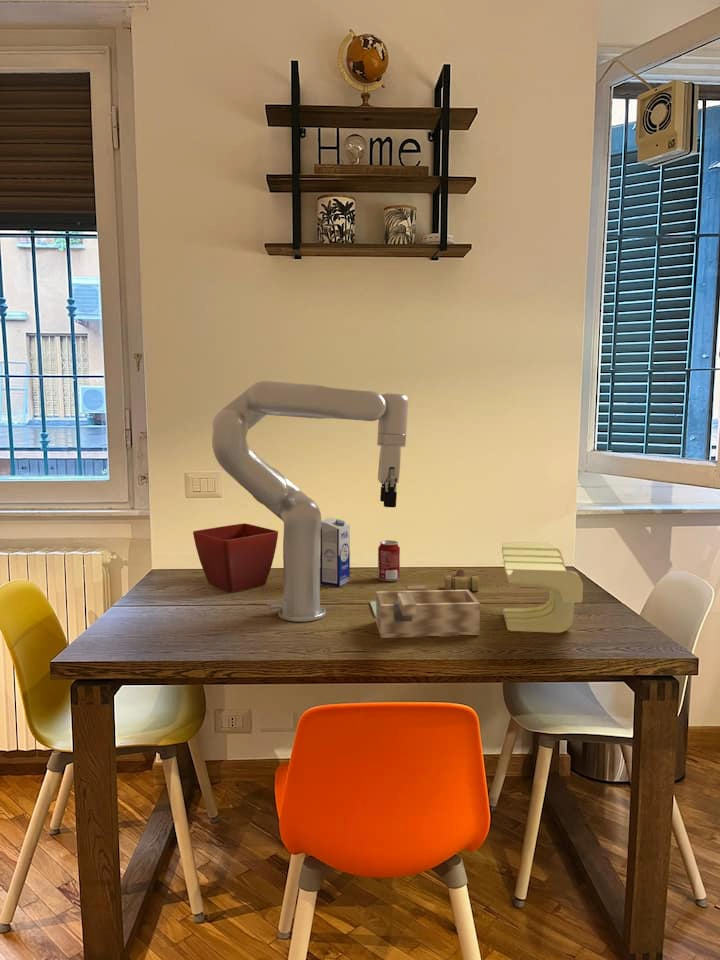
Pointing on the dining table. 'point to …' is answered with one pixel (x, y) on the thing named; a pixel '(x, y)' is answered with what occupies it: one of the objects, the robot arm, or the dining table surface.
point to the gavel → (461, 582)
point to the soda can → (388, 561)
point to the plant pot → (236, 555)
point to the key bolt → (406, 604)
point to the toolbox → (428, 614)
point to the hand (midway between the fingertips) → (387, 504)
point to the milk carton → (334, 552)
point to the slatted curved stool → (543, 570)
